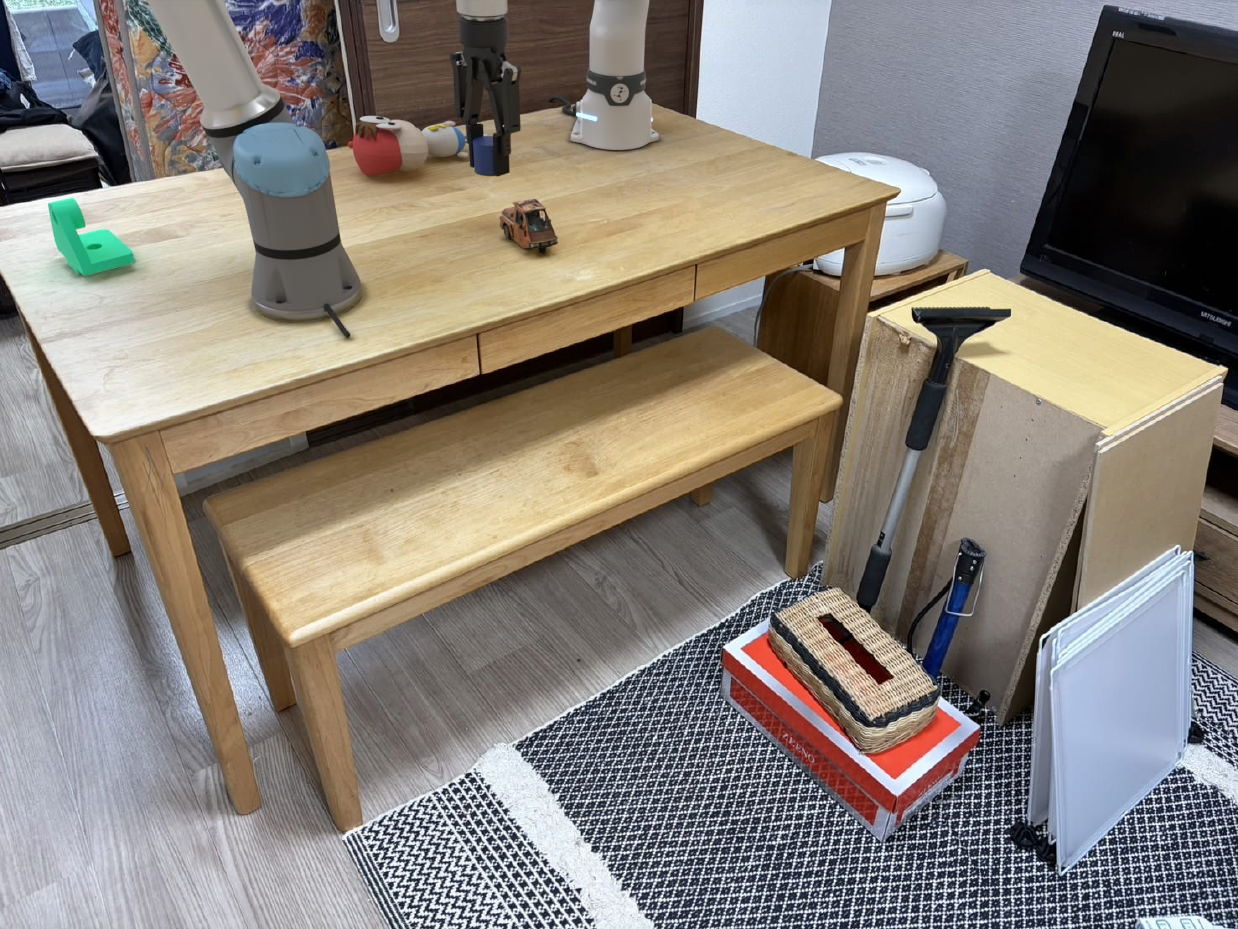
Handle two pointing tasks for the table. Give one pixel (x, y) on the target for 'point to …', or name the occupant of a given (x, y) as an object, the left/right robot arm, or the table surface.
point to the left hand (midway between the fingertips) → (489, 169)
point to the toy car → (528, 225)
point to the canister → (483, 156)
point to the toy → (402, 144)
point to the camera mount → (85, 241)
